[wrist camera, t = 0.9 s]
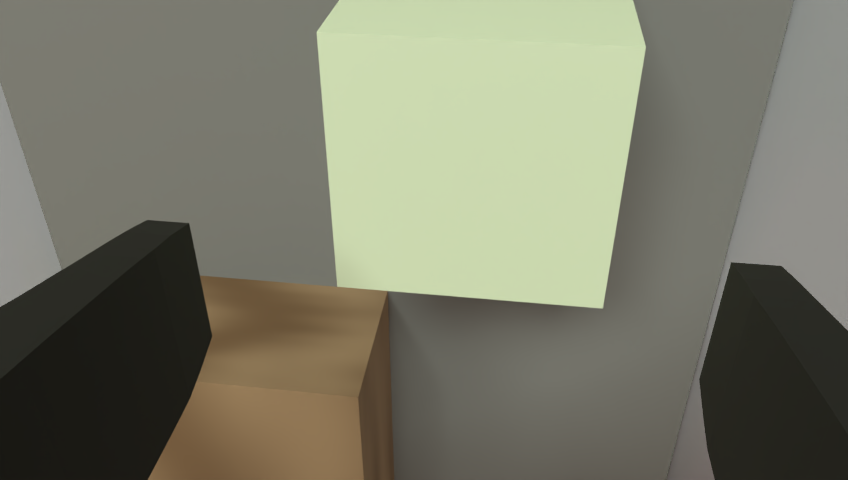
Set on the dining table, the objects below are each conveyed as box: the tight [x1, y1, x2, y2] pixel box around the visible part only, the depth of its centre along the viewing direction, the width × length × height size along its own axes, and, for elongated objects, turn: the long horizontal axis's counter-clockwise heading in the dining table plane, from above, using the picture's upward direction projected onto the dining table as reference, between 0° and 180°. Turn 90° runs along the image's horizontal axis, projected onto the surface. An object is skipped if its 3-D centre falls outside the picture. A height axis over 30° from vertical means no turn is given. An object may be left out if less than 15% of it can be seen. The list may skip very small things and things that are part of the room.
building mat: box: [0, 0, 794, 480], centre depth 21 cm, size 18×20×1 cm
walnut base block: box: [148, 276, 394, 480], centre depth 23 cm, size 9×9×4 cm
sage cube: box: [317, 0, 646, 309], centre depth 15 cm, size 5×5×5 cm
